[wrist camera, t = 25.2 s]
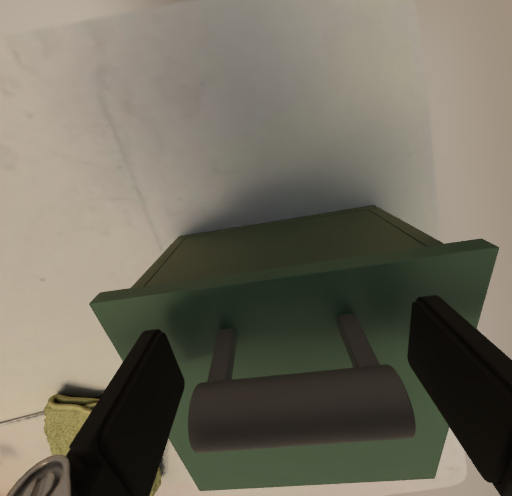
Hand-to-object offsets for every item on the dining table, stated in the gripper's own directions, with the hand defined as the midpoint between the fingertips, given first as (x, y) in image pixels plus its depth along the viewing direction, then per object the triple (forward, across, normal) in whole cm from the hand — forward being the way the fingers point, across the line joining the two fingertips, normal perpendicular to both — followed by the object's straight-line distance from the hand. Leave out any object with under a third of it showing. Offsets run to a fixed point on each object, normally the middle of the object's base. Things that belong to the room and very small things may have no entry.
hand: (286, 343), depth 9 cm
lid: (+2, 0, +6) cm, 6 cm away
